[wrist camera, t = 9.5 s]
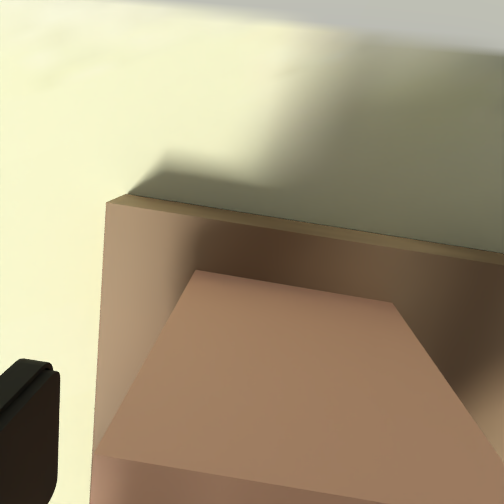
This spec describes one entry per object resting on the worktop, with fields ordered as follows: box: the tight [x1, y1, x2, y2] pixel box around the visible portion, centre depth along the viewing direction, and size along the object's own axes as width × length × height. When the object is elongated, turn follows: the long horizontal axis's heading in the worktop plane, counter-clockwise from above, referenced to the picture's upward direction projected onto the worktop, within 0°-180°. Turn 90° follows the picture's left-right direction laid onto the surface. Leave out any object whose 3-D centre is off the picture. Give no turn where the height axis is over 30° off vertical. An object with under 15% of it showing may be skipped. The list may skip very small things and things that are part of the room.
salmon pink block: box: [90, 270, 504, 504], centre depth 9 cm, size 5×5×7 cm
